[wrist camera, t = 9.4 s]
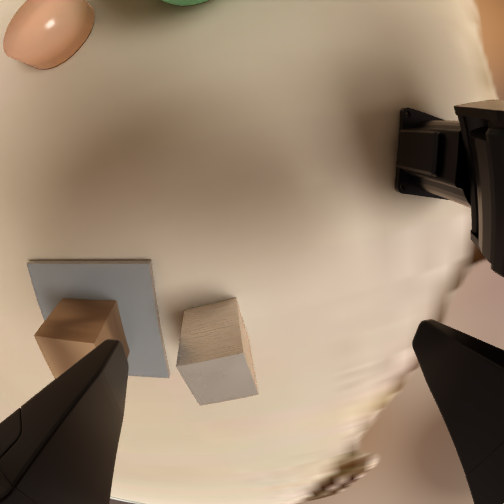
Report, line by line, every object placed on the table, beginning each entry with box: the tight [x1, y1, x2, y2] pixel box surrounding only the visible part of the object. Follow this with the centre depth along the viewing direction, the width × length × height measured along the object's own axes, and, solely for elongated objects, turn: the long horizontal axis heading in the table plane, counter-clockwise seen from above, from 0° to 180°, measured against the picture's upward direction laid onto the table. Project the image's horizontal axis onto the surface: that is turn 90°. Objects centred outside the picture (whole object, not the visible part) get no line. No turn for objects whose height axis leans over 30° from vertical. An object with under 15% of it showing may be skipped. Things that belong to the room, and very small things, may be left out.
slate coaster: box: [27, 260, 170, 378], centre depth 20 cm, size 11×11×1 cm
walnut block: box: [34, 298, 130, 379], centre depth 17 cm, size 5×5×5 cm
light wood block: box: [176, 298, 259, 405], centre depth 18 cm, size 4×4×6 cm
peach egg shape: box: [3, 0, 95, 69], centre depth 9 cm, size 6×6×4 cm
